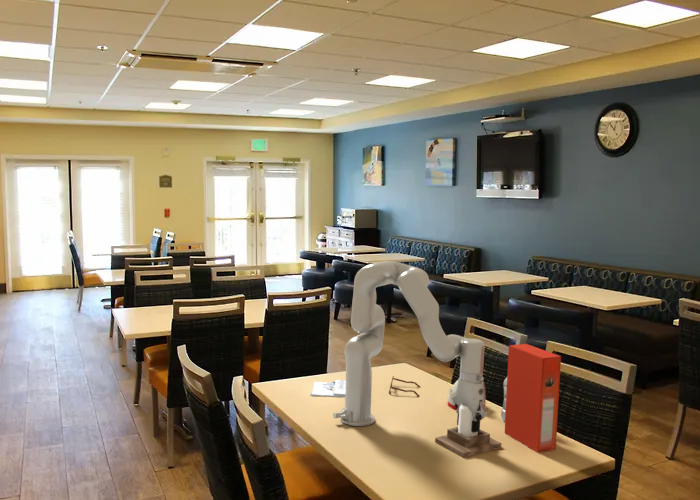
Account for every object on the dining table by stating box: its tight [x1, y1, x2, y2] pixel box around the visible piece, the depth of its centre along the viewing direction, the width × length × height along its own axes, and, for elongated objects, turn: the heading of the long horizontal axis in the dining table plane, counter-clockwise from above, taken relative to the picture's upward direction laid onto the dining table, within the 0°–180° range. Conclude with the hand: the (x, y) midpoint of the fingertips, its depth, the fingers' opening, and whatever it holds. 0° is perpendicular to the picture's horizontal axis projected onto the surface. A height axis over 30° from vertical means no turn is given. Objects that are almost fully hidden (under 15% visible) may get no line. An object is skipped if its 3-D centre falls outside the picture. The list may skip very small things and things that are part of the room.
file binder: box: [504, 343, 562, 453], centre depth 211 cm, size 8×17×32 cm, turn 23°
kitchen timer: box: [447, 378, 459, 411], centre depth 245 cm, size 14×14×15 cm
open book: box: [310, 379, 346, 398], centre depth 261 cm, size 19×20×2 cm
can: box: [457, 403, 478, 438], centre depth 207 cm, size 6×6×12 cm
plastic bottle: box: [501, 376, 507, 422], centre depth 229 cm, size 6×7×20 cm
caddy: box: [434, 426, 502, 458], centre depth 207 cm, size 17×14×4 cm
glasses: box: [388, 375, 421, 397], centre depth 262 cm, size 13×13×5 cm
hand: (468, 427), depth 207 cm, fingers closed on can, 6 cm apart
